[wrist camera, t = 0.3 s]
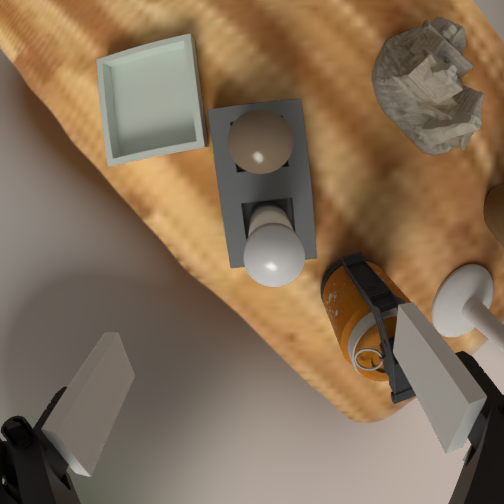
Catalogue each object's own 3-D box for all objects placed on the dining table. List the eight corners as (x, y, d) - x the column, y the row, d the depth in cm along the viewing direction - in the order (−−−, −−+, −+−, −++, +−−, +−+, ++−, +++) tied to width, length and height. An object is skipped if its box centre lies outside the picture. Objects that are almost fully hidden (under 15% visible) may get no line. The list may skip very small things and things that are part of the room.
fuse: (246, 202, 38) (239, 232, 25) (286, 197, 38) (302, 225, 24) (251, 240, 39) (247, 289, 26) (290, 236, 39) (306, 283, 26)
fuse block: (210, 113, 36) (205, 110, 32) (296, 103, 35) (301, 98, 31) (231, 257, 41) (228, 268, 37) (311, 247, 41) (316, 258, 37)
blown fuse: (236, 126, 35) (223, 114, 22) (277, 121, 35) (289, 106, 22) (241, 166, 37) (231, 177, 23) (282, 162, 36) (297, 170, 23)
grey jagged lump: (426, 171, 37) (500, 176, 22) (347, 71, 34) (395, 25, 19) (484, 110, 34) (554, 99, 20) (416, 20, 31) (472, -23, 17)
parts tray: (106, 64, 33) (96, 59, 30) (195, 41, 32) (190, 33, 30) (118, 164, 37) (108, 166, 35) (208, 147, 37) (204, 147, 34)
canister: (327, 322, 44) (364, 428, 25) (308, 251, 41) (346, 340, 22) (386, 302, 43) (449, 394, 24) (372, 230, 40) (453, 298, 21)
